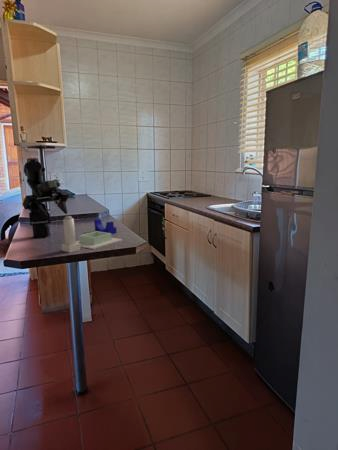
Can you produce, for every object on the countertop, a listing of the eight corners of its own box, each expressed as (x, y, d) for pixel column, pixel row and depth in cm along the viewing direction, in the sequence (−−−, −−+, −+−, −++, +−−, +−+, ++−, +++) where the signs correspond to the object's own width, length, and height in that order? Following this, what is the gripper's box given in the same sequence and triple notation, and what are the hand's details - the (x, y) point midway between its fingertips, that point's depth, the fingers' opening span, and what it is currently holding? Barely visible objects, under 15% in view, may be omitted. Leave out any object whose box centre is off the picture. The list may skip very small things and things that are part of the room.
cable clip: (116, 233, 149) (115, 221, 148) (108, 234, 146) (108, 222, 145) (102, 230, 158) (101, 218, 156) (95, 231, 154) (94, 220, 153)
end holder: (68, 244, 130) (68, 236, 129) (97, 236, 143) (97, 229, 142) (93, 249, 121) (92, 240, 120) (122, 240, 133) (121, 232, 133)
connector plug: (62, 250, 121) (58, 217, 118) (72, 247, 124) (69, 215, 122) (69, 252, 118) (66, 218, 115) (80, 249, 122) (77, 216, 119)
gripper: (22, 174, 116) (42, 205, 112) (64, 172, 130) (83, 199, 126) (14, 194, 122) (33, 223, 118) (55, 190, 137) (73, 216, 133)
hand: (57, 215), depth 123 cm, fingers open, 9 cm apart
